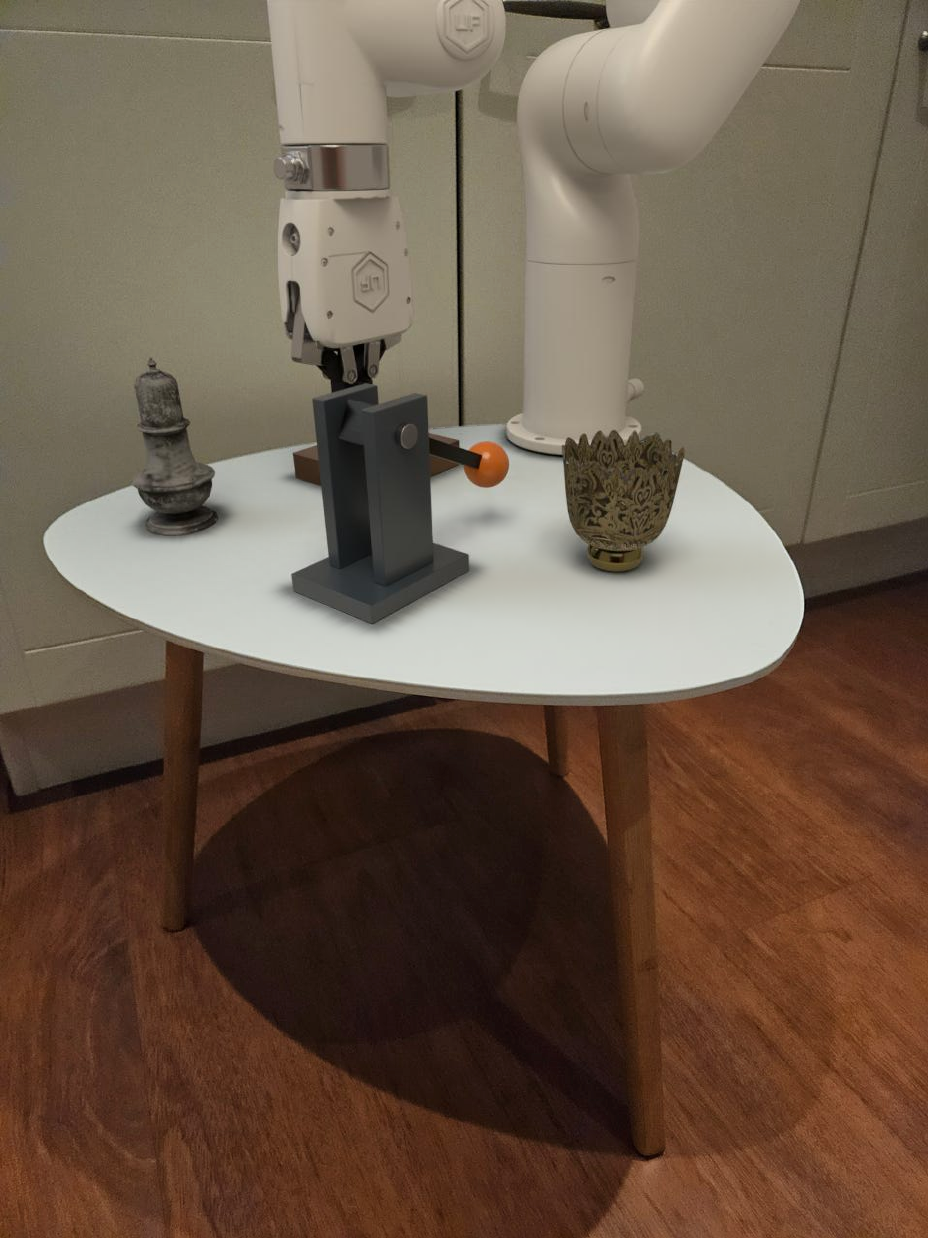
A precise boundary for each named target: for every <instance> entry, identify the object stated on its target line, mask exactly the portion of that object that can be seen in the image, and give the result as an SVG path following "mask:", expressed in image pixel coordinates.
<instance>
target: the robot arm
mask: <svg viewBox="0 0 928 1238" xmlns="http://www.w3.org/2000/svg"><path fill="white" fill-rule="evenodd" d="M800 2H801V0H605V10H606V11H605V12H606V17H607V22H608V24H609V26H610V27H608V28H603V29H598V30H592V31H587V32H583V33H578V34H574V35H571V36H567V37H564V38H562V39H561V40H558V41H557V42H554V43H553V44H551V45H549V46H548V47H547V48H546V49H544V51H542V52H541V53H540V54H539V55H538V56H537V57H536V59H535V60H534V61H533V62H532V64H531V65H530V66H529V68H528V70H527V72H526V74H525V76H524V78H523V80H522V83H521V86H520V90H519V94H518V99H517V106H516V128H517V139H518V146H519V152H520V159H521V166H522V173H523V181H524V193H525V195H524V196H525V218H526V221H525V222H526V223H525V224H526V225H525V227H526V228H525V229H526V230H525V231H526V233H525V235H526V236H525V239H526V241H525V250H526V251H525V273H524V274H525V275H524V276H525V278H524V334H523V335H524V340H523V390H522V391H523V393H522V395H523V397H522V398H523V399H522V401H523V403H522V408H523V409H522V413H521V412H520V413H518V414H517V415H514V416H512V417H511V418H510V419H509V420H508V421H507V423H506V429H505V431H506V437H507V439H508V440H509V441H510V442H512V444H514V445H516V446H517V447H520V448H522V449H525V450H529V451H532V452H536V453H541V454H548V455H556V456H563V454H562V445H565V441H566V439H567V438H568V437H570V438H572V439H573V440H574V441H575V442H576V443H577V444H579V439H580V436H581V435H582V434H583V433H585V434H586V435H587V439H588V442H590V443H589V445H590V444H591V441H592V439H593V437H594V435H595V434H596V433H597V432H598V431H599V430H600V431H602V432H603V434H604V435H605V436H609V434H610V432H611V431H612V430H616V431H617V432H618V434H619V435H620V437H621V438H622V439H623V441H624V445H626V443H627V441H628V439H629V436H630V435H631V433H632V432H633V431H634V430H636V431H637V434H638V436H639V440H641V436H642V424H641V423H640V422H639V421H638V420H637V419H636V418H634V417H632V416H630V415H628V414H627V408H628V404H629V403H630V402H631V401H634V400H636V399H638V398H640V397H641V396H643V394H644V393H645V384H644V382H643V381H642V380H641V379H640V378H636V377H635V378H631V379H629V375H630V361H631V348H632V336H633V335H632V334H633V324H634V323H633V322H634V308H635V295H636V284H637V271H638V270H637V269H638V268H637V267H638V258H639V247H640V219H639V210H638V205H637V199H636V196H635V195H636V194H635V191H634V188H633V183H632V179H631V175H635V176H636V175H637V176H638V175H639V176H640V175H659V174H666V173H669V172H674V171H676V170H678V169H680V168H682V167H685V165H687V164H689V163H690V162H691V161H692V160H694V159H695V158H696V157H697V156H698V155H699V154H700V153H702V151H703V150H704V149H705V148H706V146H708V145H709V143H710V142H711V141H712V139H713V138H714V137H715V135H716V134H717V133H718V131H719V130H720V128H721V127H722V125H723V124H724V123H725V121H726V120H727V119H728V116H729V115H730V114H731V112H732V111H733V109H734V108H735V107H736V106H737V103H738V102H739V101H740V99H741V98H742V96H743V95H744V93H745V92H746V91H747V89H748V87H749V86H750V84H751V83H752V81H753V80H754V78H755V77H756V75H757V74H758V72H759V71H760V69H761V68H762V67H763V65H764V63H765V62H766V60H767V59H768V57H770V54H771V53H772V51H773V50H774V48H775V47H776V46H777V44H778V42H779V41H780V39H781V38H782V36H783V34H784V33H785V31H786V30H787V28H788V26H789V25H790V23H791V22H792V19H793V17H794V15H795V13H796V12H797V10H798V7H799V5H800ZM266 5H267V14H268V15H267V16H268V24H269V25H268V26H269V37H270V47H271V59H272V67H273V78H274V88H275V90H274V91H275V99H276V108H277V111H276V112H277V121H278V129H279V131H278V132H279V141H280V145H281V146H280V152H281V156H279V157H276V158H275V159H274V161H273V165H272V166H273V173H274V175H275V177H276V178H277V179H278V180H283V181H284V182H283V183H284V193H285V197H281V198H280V203H279V212H278V229H277V275H278V292H279V305H280V313H281V319H282V325H283V328H284V333H285V335H286V337H287V338H288V339H289V340H291V352H290V359H291V360H292V361H293V362H294V363H297V364H303V365H309V366H315V367H317V368H318V370H319V371H321V374H322V377H323V378H324V379H326V380H329V381H330V393H333V392H337V391H340V390H344V389H347V388H351V387H355V386H358V385H362V384H365V383H367V384H372V385H374V380H373V379H375V378H377V377H378V375H379V374H380V373H379V371H380V362H381V360H382V357H383V356H384V354H385V353H386V351H388V350H390V349H391V348H393V347H395V346H397V345H398V344H399V343H401V340H402V335H403V334H404V333H406V332H407V331H409V330H410V328H411V327H412V325H413V321H414V298H413V296H414V295H413V284H412V283H413V282H412V270H411V264H410V263H411V261H410V252H409V246H408V239H407V232H406V226H405V221H404V216H403V211H402V207H401V204H400V201H399V196H398V195H397V194H392V193H391V169H390V148H389V147H390V146H389V143H390V142H389V124H388V123H389V120H388V99H387V97H389V98H409V97H415V96H424V95H429V96H430V95H438V94H446V93H447V94H448V93H453V92H457V91H462V90H464V89H466V88H468V87H471V86H473V85H474V84H476V83H477V82H480V81H481V80H482V79H483V78H484V77H485V76H486V75H487V74H489V73H490V72H491V70H492V68H494V66H495V64H496V63H497V61H498V59H499V58H500V55H501V53H502V50H503V48H504V43H505V39H506V33H507V19H506V11H505V7H504V3H503V0H266ZM606 438H607V437H606Z"/></svg>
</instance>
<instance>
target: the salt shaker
mask: <svg viewBox="0 0 928 1238" xmlns="http://www.w3.org/2000/svg"><path fill="white" fill-rule="evenodd" d="M157 365H158V362H156V361H155V360H154V359H153V358H152V357H149V359H148V360H147V363H146V366H148V369H147V370H146V371H145V372H144V373H141V374H140V375H138V376H137V377H136V378H135V381H134V383H133V384H134V385H133V386H134V392H135V396H136V402H137V406H138V411H139V416H140V422H139V423H138V424H137V425H136V429H137V431H139V432H141V433H142V436H143V442H144V446H145V451H146V465H145V466H146V467H145V468H144V469H143V470H141V471H139V472H137V473H136V474H135V475H133V476H132V478H131V480H130V481H131V485H132V487H134V488H135V489H137V493H138V495H139V497H140V499H141V500H142V502H143V503H144V504H145V505H146V506H147V507H149V508H150V509H151V510H153V511H154V513H152V515H150V516H149V518H147V519H146V520H145V523H144V526H145V529H146V531H148V532H150V533H152V534H155V535H161V536H179V535H187V534H193V533H197V532H200V531H203V530H205V529H208V528H210V527H211V526H213V525H215V524H216V522H217V521H218V520H219V514H218V512H217V511H216V510H214V509H212V508H210V507H208V506H206V505H204V504H205V503H206V502H207V501H208V499H209V498H210V497H211V493H212V489H213V478H215V474H216V471H215V470H214V468H213V467H212V466H210V465H208V464H206V463H201V462H197V461H196V459H195V457H194V455H193V452H192V449H191V445H190V439H189V433H188V429H187V428H188V427H189V426H190V424H191V421H190V420H189V419H188V418H186V417H184V413H183V407H182V402H181V401H182V400H181V396H180V389H179V384H178V382H177V379H176V378H175V377H174V376H173V375H172V374H170V373H168V372H166V371H162V370H161V369H160V368H157V367H156V366H157Z"/></svg>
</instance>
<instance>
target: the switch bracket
mask: <svg viewBox="0 0 928 1238" xmlns="http://www.w3.org/2000/svg"><path fill="white" fill-rule="evenodd" d="M348 399H352V400H356V401H361V402H366V403H370V404H375V405H374V406H371V407H368V408H365V409H362V410H361V412H362V425H363V438H364V447H362V446H358V445H355V444H351V443H348V442H345V441H341V440H339V439H338V437H339V433H340V428H341V424H342V420H343V416H344V412H345V408H346V404H347V400H348ZM311 401H312V409H313V419H314V431H315V438H316V439H315V440H316V445H317V450H318V460H319V469H320V479H321V485H320V487H321V496H322V497H321V498H322V505H323V506H322V507H323V517H324V525H325V527H324V528H325V533H326V534H325V535H326V537H325V538H326V544H327V545H326V547H327V554H328V555H327V556H328V557H325V558H323V559H321V560H319V561H317V562H314V563H312V564H310V565H308V566H306V567H304V568H301V569H299V570H296V571H294V572H292V573H290V574H291V575H290V576H291V585H292V591H293V592H295V593H298V594H299V595H303V596H304V597H308V598H309V599H312V600H314V601H317V602H320V603H321V604H324V605H326V606H328V607H331V608H334V609H336V610H338V611H340V612H343V613H345V614H348V615H350V616H353V617H354V618H357V619H360V620H362V621H364V622H366V623H369V624H374V623H376V622H378V621H381V620H382V619H383V618H385V617H388V616H389V615H391V614H393V613H394V612H396V611H398V610H400V609H402V608H403V607H405V606H407V605H409V604H411V603H413V602H415V601H416V600H418V599H420V598H421V597H424V596H425V595H428V594H429V593H430V592H431V593H432V592H433V591H435V590H437V589H438V588H440V587H442V586H444V585H446V584H447V583H449V582H451V581H453V580H455V579H457V578H458V577H460V576H463V574H465V573H467V572H469V571H470V558H469V557H470V554H469V553H466V552H463V551H460V550H457V549H454V548H451V547H448V546H444V545H442V544H439V543H435V542H434V536H433V511H432V490H431V489H432V486H431V476H430V455H429V433H430V431H429V430H430V429H429V408H428V405H429V404H428V403H429V401H428V395H426V394H422V393H418V392H417V393H416V392H414V393H411V394H407V395H404V396H401V397H398V398H394V399H391V400H388V401H385V402H381V403H379V401H380V400H379V387H378V385H377V384H373V385H372V384H367V383H365V384H362V385H358V386H355V387H351V388H347V389H344V390H340V391H337V392H333V393H331V392H329V393H327V394H323V395H320V396H315V397H313V398H311Z"/></svg>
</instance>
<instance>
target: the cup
mask: <svg viewBox="0 0 928 1238" xmlns="http://www.w3.org/2000/svg"><path fill="white" fill-rule="evenodd" d="M606 437H607V438H606ZM589 443H590V442H588V439H587V435H586V434H585V433H583V434H582V435H581V436H580V439H579V444H577V443H576V442H575V441H574V440H573V439H572V438H570V437H568V438H567V439H566V441H565V445H562V454H563V455H562V462H563V477H564V491H565V503H566V509H567V514H568V518H569V522H570V524H571V528H572V529H573V530H574V532H575V533H576V535H577V536H578V537H579V538H580V539H581V540H582V541H583V542H585V543H586V544H588V545H587V547H586V555H587V558H588V561H589V562H590V563H591V564H592V566H594V567H596V568H598V569H601V570H604V571H608V572H625V571H629V570H632V569H635V568H636V567H638V566H639V565H640V563H641V561H642V560H643V557H644V555H645V551H644V547H646V546H648V545H650V544H652V543H653V542H654V541H655V540H657V539H658V538H659V536H660V535H661V534H662V532H663V531H664V530H665V528H666V525H667V524H668V521H669V518H670V515H671V512H672V509H673V505H674V502H675V497H676V492H677V488H678V484H679V479H680V475H681V472H682V468H683V462H684V458H685V453H686V452H685V447H684V446H682V447H681V448H680V449H679V450H678V452H677V453H673V449H672V444H673V443H672V439H671V438H667V439H666V440H663V438H662V435H661V434H660V433H659V432H653V433H651V434H650V435H646V436H645V437H644V438H643V439H640V440H639V436H638V434H637V431H636V430H634V431H633V432H632V433H631V435H630V436H629V439H628V441H627V443H626V445H624V441H623V439H622V438H621V437H620V435H619V434H618V432H617V431H616V430H612V431H611V432H610V434H609V436H605V435H604V434H603V432H602V431H600V430H599V431H598V432H597V433H596V434H595V435H594V437H593V439H592V441H591V444H590V445H589Z"/></svg>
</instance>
